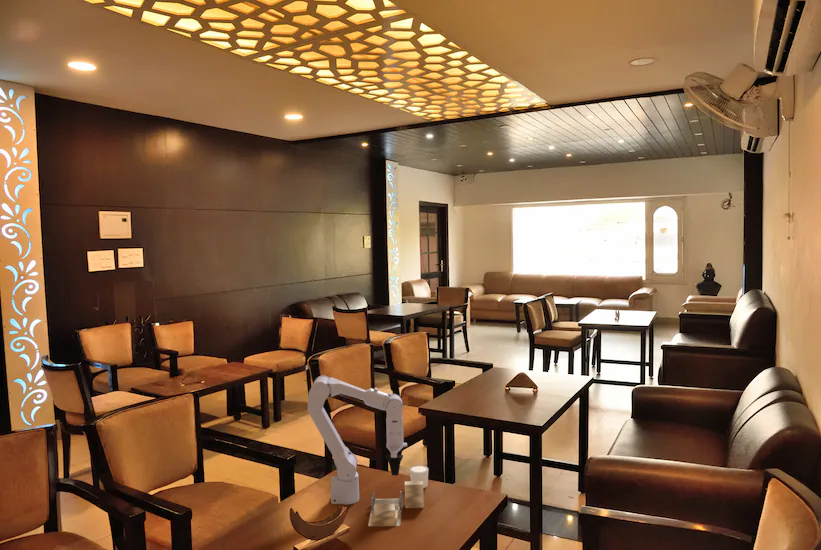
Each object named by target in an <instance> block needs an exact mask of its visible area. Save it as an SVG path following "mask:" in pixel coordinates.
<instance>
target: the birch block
mask: <svg viewBox="0 0 821 550" xmlns="http://www.w3.org/2000/svg"><path fill="white" fill-rule="evenodd" d="M424 499H425V498H424V488H423V481H411V480H410V481H409V480H408V481H406V480H405V481H404V508H405V509H424V507H425V505H424V503H425V502H424V501H425V500H424Z"/></svg>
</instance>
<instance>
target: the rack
mask: <svg viewBox="0 0 821 550" xmlns="http://www.w3.org/2000/svg"><path fill="white" fill-rule="evenodd" d="M375 497H376V496H375V491H372V492H371V497H370V509H371V510H370V514H369V520H368V524H367V527H400V526H401V522H402V513H403V511H402V510H403V491H402V490H400V491H399V497H398V498H375ZM384 504H394V506H395V510H398V521H397V524H371V517H372V512H373V510H374V505H384Z"/></svg>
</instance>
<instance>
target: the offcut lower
mask: <svg viewBox="0 0 821 550" xmlns="http://www.w3.org/2000/svg"><path fill="white" fill-rule="evenodd" d="M395 513H396V516H395V517H385V518H375V515H374V510H373V512H372V517H371V524H397V521H398V510H395Z"/></svg>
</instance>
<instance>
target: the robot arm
mask: <svg viewBox="0 0 821 550" xmlns="http://www.w3.org/2000/svg"><path fill="white" fill-rule="evenodd" d="M307 395H308V399H307V412H308V414H309V416H310V417H311V419H312V421H313V423H314V425H315V426H316V429H317V430H318V432H319V434H320V435H321V437H322V439H323V441H324V442H325V445H326V446H327V448H328V450H329V452H330V453H331V455H332V457H333V459H332V460H333V461H334V462H333V463H334V465H335V467H336V474H337V475H335V476H331V478H330V479H331V480H330V502H331V503H330V504H331V505H353V504H355V503H357V502H359V500H360V486H359V485H360V484H359V482H360V481H359V472H357V466H358V458H357V456H356V455H355V454H354V453H352V452H351V451H350V449H349V448H348V447H347V446H346V445H345V443H344V442H343V440H342V438H341V436H340V434H339V433H338V431H337V429H336V427H335V426H334V424H333V422H332V420H331V419H330V417H329V415H328V413H327V411H326V409H325V408H324V405H325V403H326V402H325V401H326V400H327V399H328V397H329V396H330V398H332V397H335V396H337V395H345V396H348V397H350V398H351V397H352V398H355V399H359V400H362V401H363V402H364V405H366V406H368V407H371V408H374V409H378V410H381V411H385V412H386V417H385V418H386V419H385V422H386V423H385V424H386V425H385V426H386V448H387V450H389V452H390V453H387V454H386V455H385V459H386V460H387V462H388V465H389V468H390V473H391V476H399V474H400V468H401V467H400V466H401V462H402V460H403V457H404V455H403V454H402V453H403V450H404V448H406V447H408V443H407V442H404V417H403V415H404V414H403V411H404V406H403V405H404V404H403V399H402V397H400V395H398V394H396V393H391V392H388V393H387V392H383V391H380V390H379V388H377V387H374V388H372V387H371V388H368V389H364V388H361V387H358V386H355V385H352V384H351V383H348V382H345V381H343V380H340V379H338V378H336V377H329V376H327V375H324V374H323V375H320V376H318V377H316V378H315V379H314V381H313V383H312V386H311V387H310V389H309V391H308V394H307Z"/></svg>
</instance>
